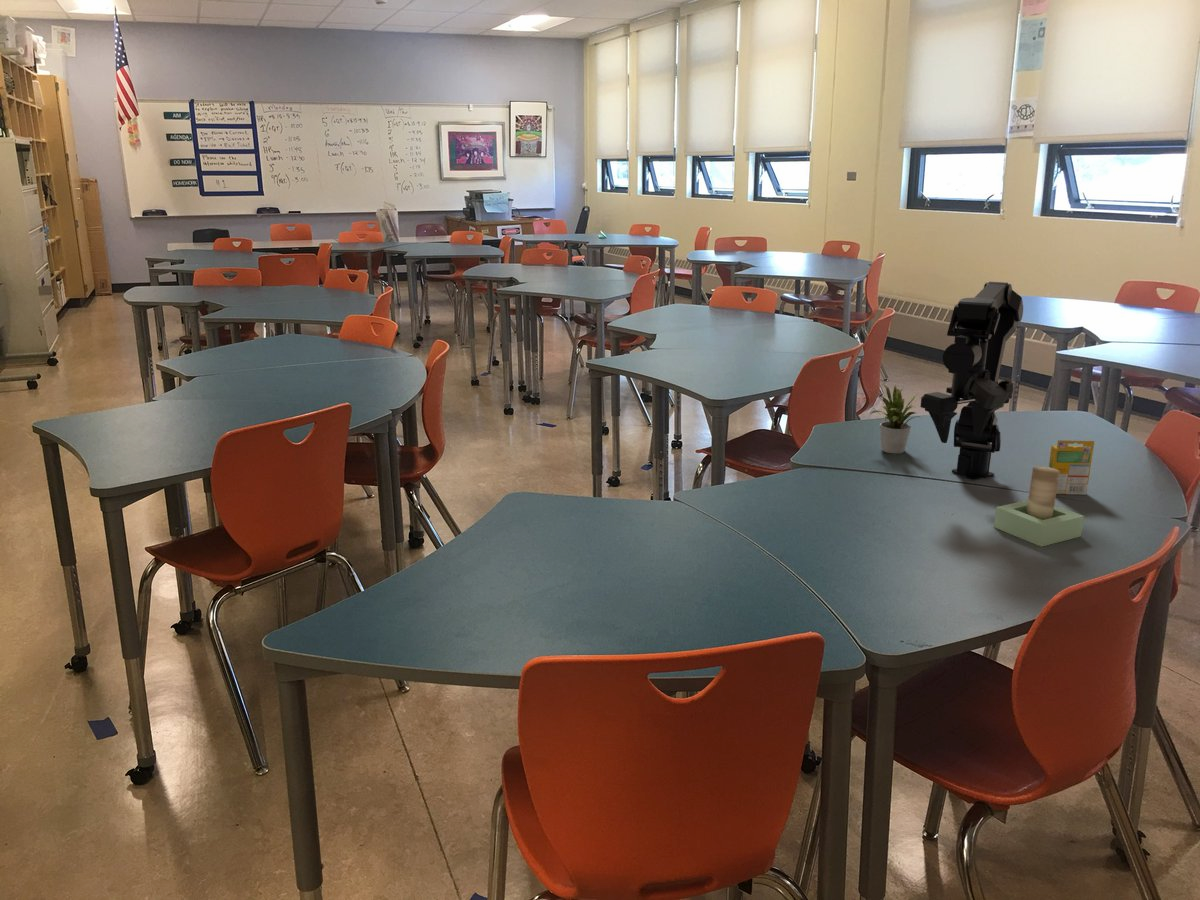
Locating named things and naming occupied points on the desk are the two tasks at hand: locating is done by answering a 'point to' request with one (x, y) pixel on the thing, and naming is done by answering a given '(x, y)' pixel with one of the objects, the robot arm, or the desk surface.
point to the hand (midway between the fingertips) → (960, 439)
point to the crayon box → (1072, 466)
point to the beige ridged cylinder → (1042, 492)
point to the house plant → (894, 422)
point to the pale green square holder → (1038, 524)
